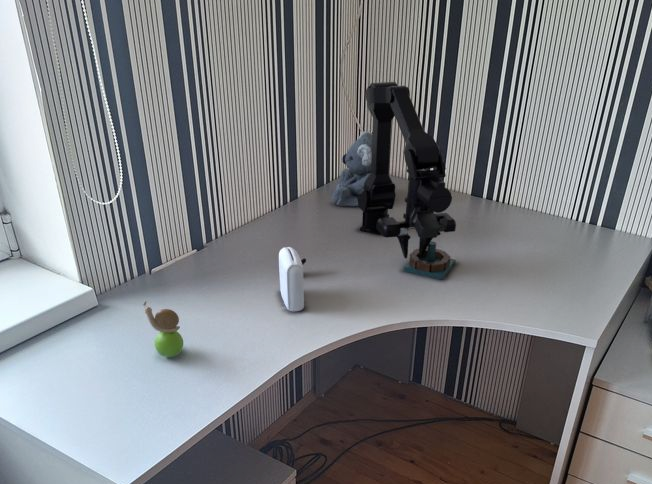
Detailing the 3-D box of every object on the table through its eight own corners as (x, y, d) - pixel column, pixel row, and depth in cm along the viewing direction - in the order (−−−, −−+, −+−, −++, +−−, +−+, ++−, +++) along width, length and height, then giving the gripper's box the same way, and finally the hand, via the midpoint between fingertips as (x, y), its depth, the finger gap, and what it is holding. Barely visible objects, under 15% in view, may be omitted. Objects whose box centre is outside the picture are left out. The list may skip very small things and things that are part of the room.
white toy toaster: (278, 291, 160) (276, 242, 153) (296, 289, 161) (295, 241, 154) (287, 313, 152) (285, 263, 145) (306, 311, 153) (305, 261, 146)
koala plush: (338, 187, 219) (339, 125, 208) (395, 191, 218) (398, 129, 207) (330, 207, 204) (331, 142, 194) (391, 211, 203) (394, 146, 192)
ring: (404, 266, 170) (405, 259, 169) (418, 252, 178) (418, 244, 177) (441, 275, 167) (441, 267, 166) (453, 259, 175) (454, 252, 173)
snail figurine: (154, 347, 139) (145, 295, 132) (186, 346, 139) (179, 294, 133) (149, 362, 134) (140, 309, 128) (182, 362, 135) (175, 309, 128)
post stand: (404, 271, 171) (405, 246, 167) (418, 255, 179) (420, 231, 175) (442, 279, 168) (444, 255, 164) (455, 263, 175) (457, 239, 172)
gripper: (395, 212, 152) (389, 275, 160) (470, 206, 158) (461, 267, 166) (377, 194, 161) (373, 255, 169) (449, 189, 167) (442, 248, 175)
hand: (413, 257), depth 170 cm, fingers open, 4 cm apart
